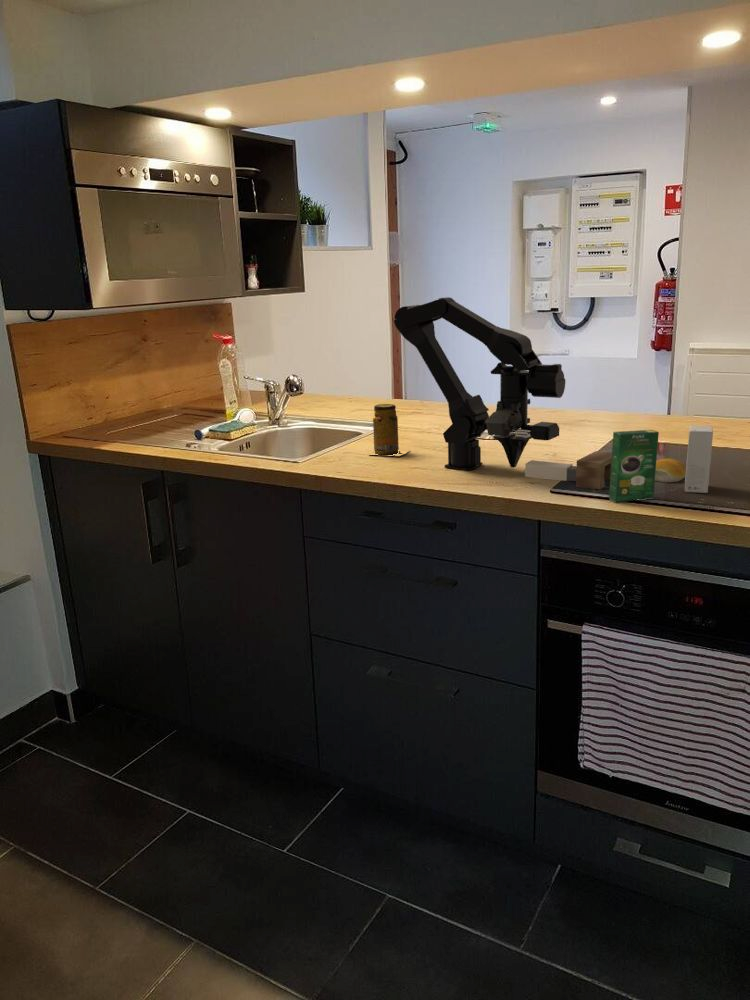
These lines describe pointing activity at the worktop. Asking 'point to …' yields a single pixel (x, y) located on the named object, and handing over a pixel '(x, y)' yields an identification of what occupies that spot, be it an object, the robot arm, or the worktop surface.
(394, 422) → the condiment
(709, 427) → the skincare box
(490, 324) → the robot arm
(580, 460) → the wooden block
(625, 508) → the worktop surface
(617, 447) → the coffee box
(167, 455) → the worktop surface
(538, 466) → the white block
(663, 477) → the bread roll
